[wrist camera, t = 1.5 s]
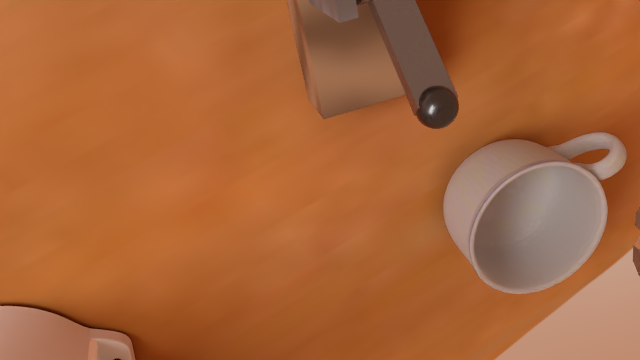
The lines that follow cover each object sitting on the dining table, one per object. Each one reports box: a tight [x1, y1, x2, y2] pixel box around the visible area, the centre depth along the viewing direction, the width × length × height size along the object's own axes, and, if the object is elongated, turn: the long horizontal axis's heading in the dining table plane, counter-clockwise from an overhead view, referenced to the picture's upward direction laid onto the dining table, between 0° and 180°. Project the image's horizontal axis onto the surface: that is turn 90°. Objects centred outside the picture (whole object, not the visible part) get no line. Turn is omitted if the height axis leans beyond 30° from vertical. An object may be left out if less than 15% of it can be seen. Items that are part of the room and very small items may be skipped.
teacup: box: [443, 132, 627, 294], centre depth 43 cm, size 14×11×8 cm
